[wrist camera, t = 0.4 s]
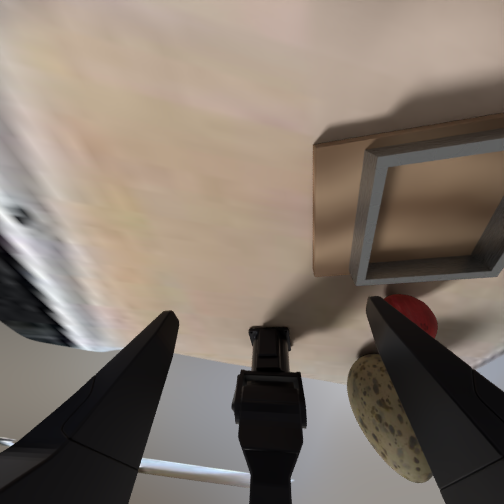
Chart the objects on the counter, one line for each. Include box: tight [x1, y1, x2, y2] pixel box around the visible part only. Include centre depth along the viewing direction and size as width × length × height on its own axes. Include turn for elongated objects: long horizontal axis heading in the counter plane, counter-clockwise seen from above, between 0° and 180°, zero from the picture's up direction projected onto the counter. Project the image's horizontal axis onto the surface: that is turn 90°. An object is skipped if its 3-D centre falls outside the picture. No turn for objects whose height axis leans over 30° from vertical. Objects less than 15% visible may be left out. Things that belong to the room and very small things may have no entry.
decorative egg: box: [347, 354, 433, 483], centre depth 31 cm, size 11×11×15 cm
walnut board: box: [313, 113, 504, 277], centre depth 20 cm, size 14×20×2 cm
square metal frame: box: [349, 128, 504, 286], centre depth 18 cm, size 13×13×2 cm
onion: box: [384, 294, 438, 339], centre depth 25 cm, size 6×6×8 cm
